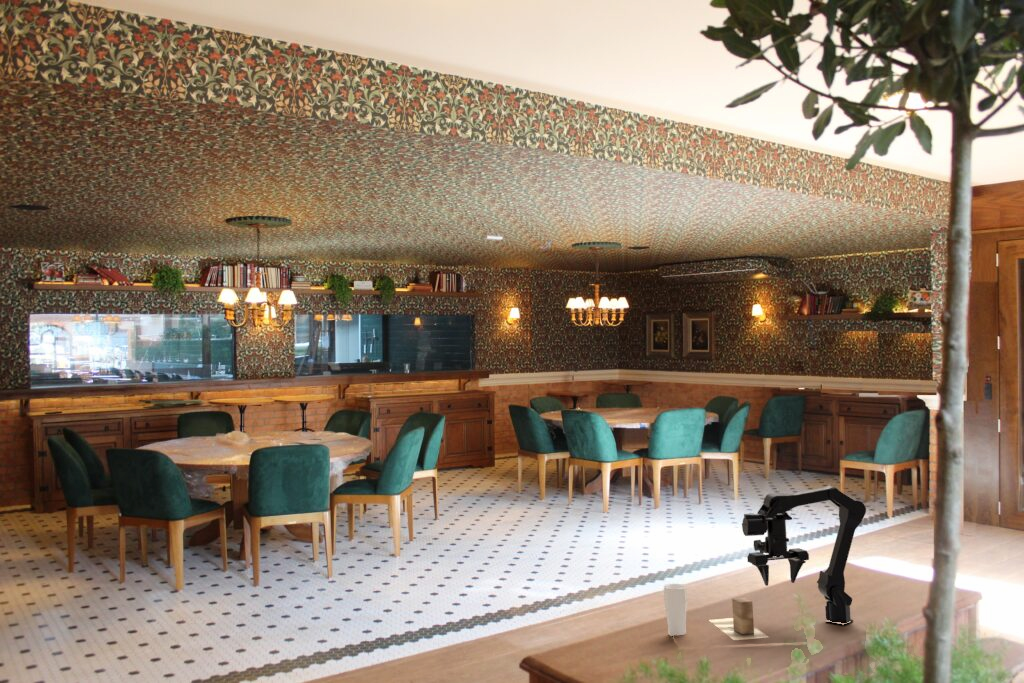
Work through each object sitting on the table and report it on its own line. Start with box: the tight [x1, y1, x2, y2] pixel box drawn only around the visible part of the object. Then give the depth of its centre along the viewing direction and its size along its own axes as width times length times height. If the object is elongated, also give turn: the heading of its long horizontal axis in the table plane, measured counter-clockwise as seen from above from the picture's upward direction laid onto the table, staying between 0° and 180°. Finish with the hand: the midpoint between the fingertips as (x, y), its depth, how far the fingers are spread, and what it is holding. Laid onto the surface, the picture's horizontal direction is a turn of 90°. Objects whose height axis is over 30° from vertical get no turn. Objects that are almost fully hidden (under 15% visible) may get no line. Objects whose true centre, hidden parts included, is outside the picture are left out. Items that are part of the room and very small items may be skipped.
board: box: [708, 617, 770, 641], centre depth 265 cm, size 22×11×1 cm, turn 7°
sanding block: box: [731, 596, 755, 636], centre depth 260 cm, size 4×5×10 cm
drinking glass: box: [663, 583, 688, 638], centre depth 263 cm, size 7×7×15 cm
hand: (779, 584), depth 268 cm, fingers open, 9 cm apart
